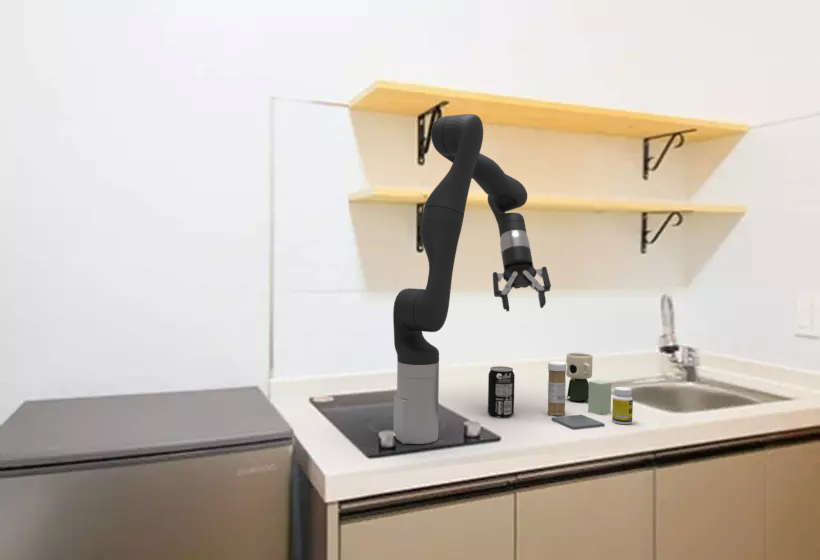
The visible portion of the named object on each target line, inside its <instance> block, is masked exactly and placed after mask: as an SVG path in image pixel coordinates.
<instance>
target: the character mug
mask: <svg viewBox="0 0 820 560" xmlns="http://www.w3.org/2000/svg"><path fill="white" fill-rule="evenodd" d="M565 359H566V361H565V363H566V373H565V374H566V377H568V378H570V379H569V381H568V382H569V383H568V388H567V396H566V398H567V399H569V400H571V401H577V402H580V403H581V402H583V401H585V400H588V398H589V381H588V379H590V378H592V377H593V355H592V354H591V353H584V352H569V353H566V358H565Z"/></svg>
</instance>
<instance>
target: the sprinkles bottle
mask: <svg viewBox="0 0 820 560" xmlns="http://www.w3.org/2000/svg"><path fill="white" fill-rule="evenodd" d="M547 369H548V370H547V371H548V380H547V383H548V384H547V414H548V415H550V416H554V417H563V416H566V387H567V386H566V383H567V382H566V377H567V375H566V371H567V363H566V361H556V360H555V361H549V362H548V365H547Z"/></svg>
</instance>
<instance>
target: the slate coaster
mask: <svg viewBox="0 0 820 560" xmlns="http://www.w3.org/2000/svg"><path fill="white" fill-rule="evenodd" d="M550 420H551V421H553V422H555V423H557V424H560V425H562V426H564V427H566V428H569V429H571V430H580V429H581V430H583V429H591V428H600V426H601V427H605V424H606V423H604V422H602V421H599V420H597V419H594V418H591V417H588V416H586V415H583V414H576V415H575V414H574V415H562V416H554V417H553V416H552V417H551V419H550Z"/></svg>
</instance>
